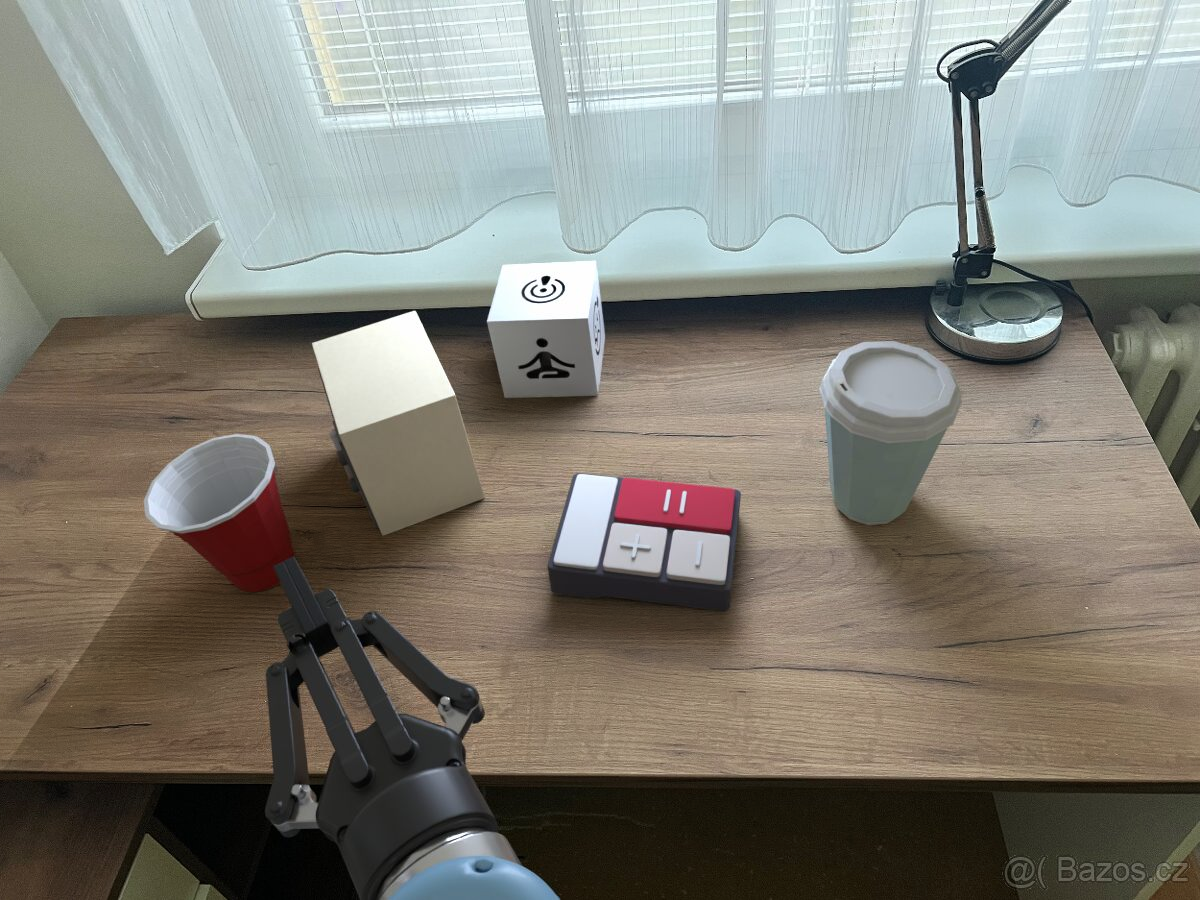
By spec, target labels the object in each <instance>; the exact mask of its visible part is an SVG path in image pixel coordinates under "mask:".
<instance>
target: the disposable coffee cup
mask: <svg viewBox="0 0 1200 900" xmlns="http://www.w3.org/2000/svg"><path fill="white" fill-rule="evenodd" d="M818 389H819V393H820V397H821V400H822V403H823V406H824V417H825V419H824V420H825V431H826V444H827V447H826V448H827V459H828V470H829V486H830V492H831V495H832V498H833V502H834V504H835V506H836V508H837V509H838V510H839V511H840V512H841V513H842V514H844V516H845V517H846V518H847V519H848V520H851V521H854V522H856V523H860V524H863V525H865V526H877V525H878V526H879V525H887V524H889V523H891V522H892V521H894V520H896V519H898V518H899V517H901V516H902V514H904V513H905V512H907V510H908V507H909V505H910V503H911V502H912V500H913V497H914V495H915V493H916V491H917V490H918V488H919V485H920V484H921V482H922V480H923V478H924V476H925V474H926V472H927V469H929V466H930V464H931V461H932V459H933V458H934V456H935V454H936V452H937V449H938V448H939V446H940V444H941V442H942V440H943V438H944V436H945V435H946V432H947V430H948V429H949V428H950V427H952V426H953V425H954V423H955V421H956V419H957V415H958V413H959V410H960V407H961V405H962V402H963V400H962V396H963V391H962V389H961V387H960V385H959V383H958V380H957V378H956V376H955V374H954V372H953V370H952V368H950V367H949V366H948V365H947V364H945V362H942V361H941V360H940V359H939V358H936V357H935V356H934V355H932V354H931V353H930V352H928V351H927V350H925V349H924V348H921V347H916V346H913V345H911V344H910V345H909V344H907V343H902V342H899V341H894V340H881V341H878V340H877V341H862V342H860V343H858V344H855V345H852V346H850V347H848V348H846V349H844V350H841V351H839V352H838V353H837V356H836V358H834V359H832V361H831V363H830V365H829V367H828V369H827V371H826V373H825V374H824V376H823V378H822V380H821V384H820V387H819V388H818Z"/></svg>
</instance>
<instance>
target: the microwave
mask: <svg viewBox="0 0 1200 900" xmlns="http://www.w3.org/2000/svg"><path fill="white" fill-rule="evenodd" d="M311 346H312V350H313V352H314V356H315V358H316V363H317V366H318V368H317V370H318V373H319V377H320V381H321V383H322V386H323V390H324V394H325V397H326V400H327V403H328V406H329V409H330V413H331V417H332V425H333V428H334V429H331V431H330V432H329V436H330V439H331V441H332V443H333V446H334V448H335V450H336V455H337V458H338V461H339V463H340V465H341V467H343V468H344V471H345V472H346V475H347V477H348V482H349V484H350V487H351V491H352V492H353V494H359V493H360V495H361V498H362V500H363V502H364V503H365V507H366V509H367V511H368V514H369V516H370V518H371V520H372V522H373V525H374V527H375V528H376V529H377V528H378V529H379V532H380V533H381V536H383V537H384V536H386V535H389V534H392V533H395V532H398V531H400V530H402V529H405V528H408V527H411V526H414V525H416V524H418V523H423V522H425V521H427V520H429V519H430V520H431V519H433V518H435V517H437V516H440V515H443V514H445V513H448V512H451V511H455V510H456V509H459V508H461V507H464V506H467V505H470V504H473V503H476V502H478V501H481V500H484V499H485V494H484V490H483V486H482V483H481V480H480V476H479V473H478V469H477V465H476V462H475V460H474V455H473V452H472V448H471V445H470V444H471V443H470V441H469V437H468V434H467V430H466V428H465V427H466V426H465V424H464V420H463V417H462V414H461V410H460V406H459V403H458V399H457V396H456V394H455V391H454V389H453V387H452V385H451V383H450V381H449V379H448V377H447V374H446V372H445V370H444V368H443V366H442V363H441V362H440V359H439V357H438V356H437V353H436V352H435V349H434V347H433V345H432V343H431V341H430V338H429V337H428V334H427V332H426V329H425V328H424V326H423V323H422V322H421V320H420V317H419V315H418V313H417V311H416V310H412V311H409V312H405V313H403V314H400V315H397V316H393V317H390V318H387V319H383V320H380V321H378V322H374V323H371V324H368V325H365V326H361V327H359V328H356V329H352V330H349V331H346V332H343V333H339V334H336V335H333V336H330V337H327V338H324V339H320V340H318V341H314V342H312V343H311Z"/></svg>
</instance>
